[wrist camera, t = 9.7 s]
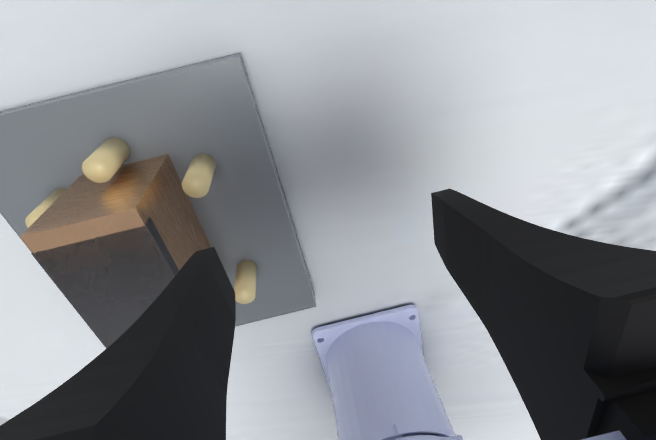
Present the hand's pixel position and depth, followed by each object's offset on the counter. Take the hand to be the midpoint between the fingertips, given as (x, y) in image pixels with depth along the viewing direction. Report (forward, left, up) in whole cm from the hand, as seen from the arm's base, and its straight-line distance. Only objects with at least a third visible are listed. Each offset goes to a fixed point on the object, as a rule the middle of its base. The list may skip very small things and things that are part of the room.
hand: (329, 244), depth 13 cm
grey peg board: (-3, +9, -10) cm, 14 cm away
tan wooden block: (-2, +9, -9) cm, 13 cm away
